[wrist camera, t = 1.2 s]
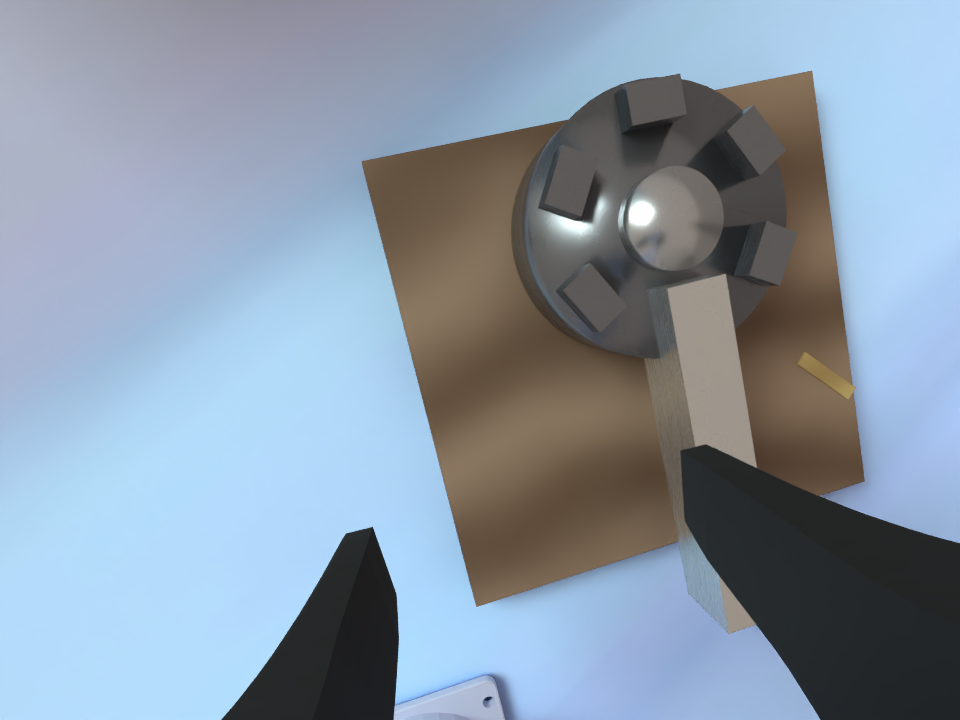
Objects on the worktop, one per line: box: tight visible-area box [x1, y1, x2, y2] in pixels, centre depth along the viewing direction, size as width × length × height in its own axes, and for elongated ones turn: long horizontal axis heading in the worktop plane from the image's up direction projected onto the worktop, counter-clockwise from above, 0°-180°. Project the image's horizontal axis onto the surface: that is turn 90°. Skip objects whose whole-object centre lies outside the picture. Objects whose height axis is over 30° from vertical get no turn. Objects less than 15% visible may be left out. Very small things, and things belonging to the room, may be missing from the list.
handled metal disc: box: [511, 74, 797, 634], centre depth 19 cm, size 18×9×4 cm, turn 13°
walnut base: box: [362, 71, 865, 607], centre depth 22 cm, size 18×18×2 cm
